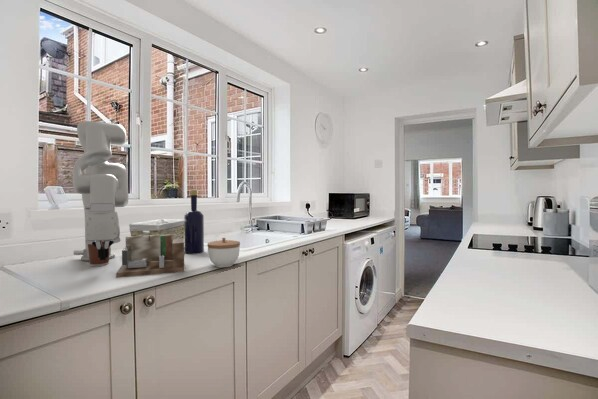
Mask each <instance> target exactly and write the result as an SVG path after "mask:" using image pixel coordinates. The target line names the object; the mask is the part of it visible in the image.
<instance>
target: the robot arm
mask: <svg viewBox="0 0 598 399" xmlns="http://www.w3.org/2000/svg"><path fill="white" fill-rule="evenodd" d="M76 132H77V137H78V141H79V143H80V146H81V147H82V150H83V154H82V155H81V156H80V157H79V158H78V159H77V160H76V161H75V163H74V165H73V168H72V187H73V189H74V192H76V193H77V194H79V195H80V194H81V200H82V204H83V205H82V206H83V211H84V213H83V214H84V248H83V249H74V250H73V255H76V256H80V255H82V256H81V257H80V260H81V261H84V262H90V260H89V252H88V244H92V245H94V246H95V247H96V248H97V249H98V258H100V260H106V259H107V257H109V259H113V258H115V257H116V253H114V252H112V245H113V244H117V243H120V242H121V237H120V235H121V233H120V221H119V220H120V219H119V215H118V212H117V211H116V208H124V207H126V206H127V205H128V203H129V187H128V185H129V184H128V174H127V169H126V167H125V165H123V164H121V163H116V162H115V163H114V162H108V161H109V160H110V159H111V157H112V154H113V153H112V148H111V145H114V146H115V145H116V146H124V145H125V144H126V142H127V132H126V129H125V127H124V126H123V125H122V124H120V123H119V124H118V123H113V122H112V123H111V122H110V123H109V122H103V121H102V122H100V121H92V120H91V121H89V120H85V121H84V120H83V121H80V122H78V124H77V126H76ZM83 171H85V172H84V173H82V172H83ZM85 240H86V242H85ZM101 241H105V247H104V248H103V246H102V242H101ZM109 247H110V250H109Z"/></svg>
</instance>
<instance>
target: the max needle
mask: <svg viewBox="0 0 598 399" xmlns="http://www.w3.org/2000/svg"><path fill="white" fill-rule="evenodd" d="M159 268H164V256H162V241H161V256H159Z"/></svg>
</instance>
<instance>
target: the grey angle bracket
mask: <svg viewBox="0 0 598 399" xmlns="http://www.w3.org/2000/svg"><path fill="white" fill-rule="evenodd" d="M147 264H148V258H138V259H131V246H126V245H125V246H124V248H123V249H122V250H121V266H122V265H128V268H140V267H147Z"/></svg>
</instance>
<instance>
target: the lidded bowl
mask: <svg viewBox="0 0 598 399" xmlns="http://www.w3.org/2000/svg"><path fill="white" fill-rule="evenodd" d="M240 245H241V243H240V241H238V240H233V239H232V240H231V239H226V237H222V238H221V239H220V240H214V241H209V242H207V254H208V259H209V261H210V262H211V263H212V264H213V265H214V267H216V268H229V267H232V266H233V265H234V264H235V263H236V262H237V260H238V258H239V256H240V249H241V248H240Z"/></svg>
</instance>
